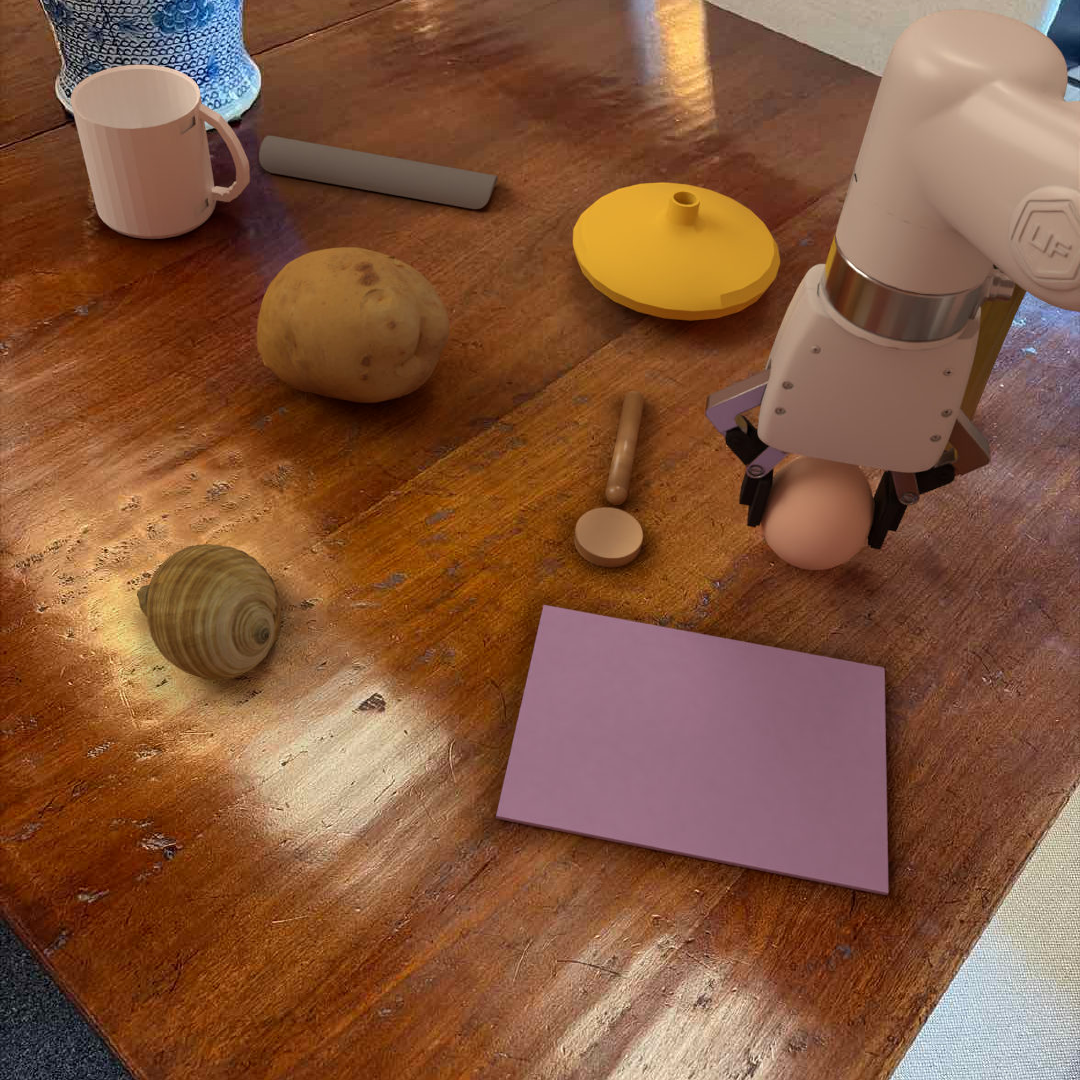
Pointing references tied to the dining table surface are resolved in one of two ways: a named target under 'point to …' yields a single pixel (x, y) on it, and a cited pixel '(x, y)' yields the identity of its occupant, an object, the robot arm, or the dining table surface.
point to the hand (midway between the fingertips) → (813, 519)
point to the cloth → (703, 749)
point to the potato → (352, 325)
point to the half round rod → (376, 172)
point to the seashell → (212, 611)
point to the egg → (818, 512)
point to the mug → (151, 150)
